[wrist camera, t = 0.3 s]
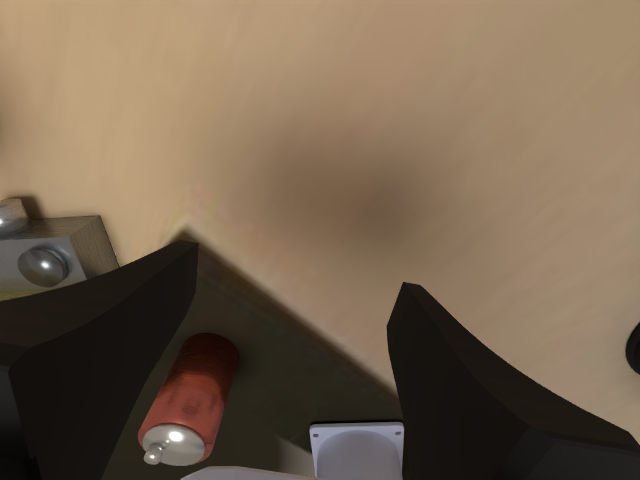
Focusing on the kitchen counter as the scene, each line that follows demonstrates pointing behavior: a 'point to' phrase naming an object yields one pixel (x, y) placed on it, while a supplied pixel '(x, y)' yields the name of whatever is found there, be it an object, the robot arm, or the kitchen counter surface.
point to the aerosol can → (634, 350)
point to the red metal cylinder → (190, 402)
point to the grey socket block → (49, 251)
